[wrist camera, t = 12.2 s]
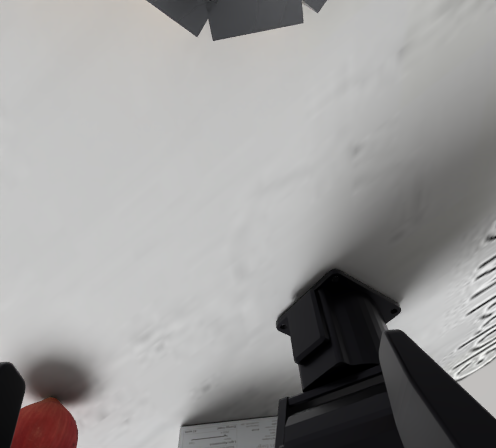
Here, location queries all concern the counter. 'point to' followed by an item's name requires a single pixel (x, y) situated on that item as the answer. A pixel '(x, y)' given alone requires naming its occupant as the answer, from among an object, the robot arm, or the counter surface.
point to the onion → (45, 426)
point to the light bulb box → (231, 434)
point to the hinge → (235, 14)
